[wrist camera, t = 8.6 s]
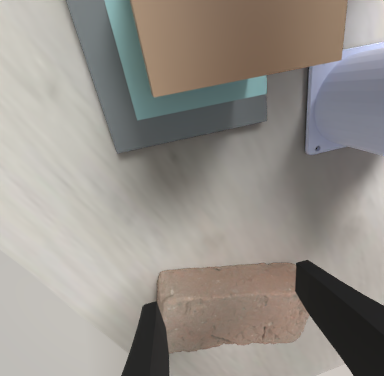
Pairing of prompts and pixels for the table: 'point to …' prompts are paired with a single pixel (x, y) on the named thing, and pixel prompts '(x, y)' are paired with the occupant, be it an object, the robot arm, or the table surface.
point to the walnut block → (234, 39)
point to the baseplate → (121, 100)
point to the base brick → (139, 83)
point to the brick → (230, 306)
